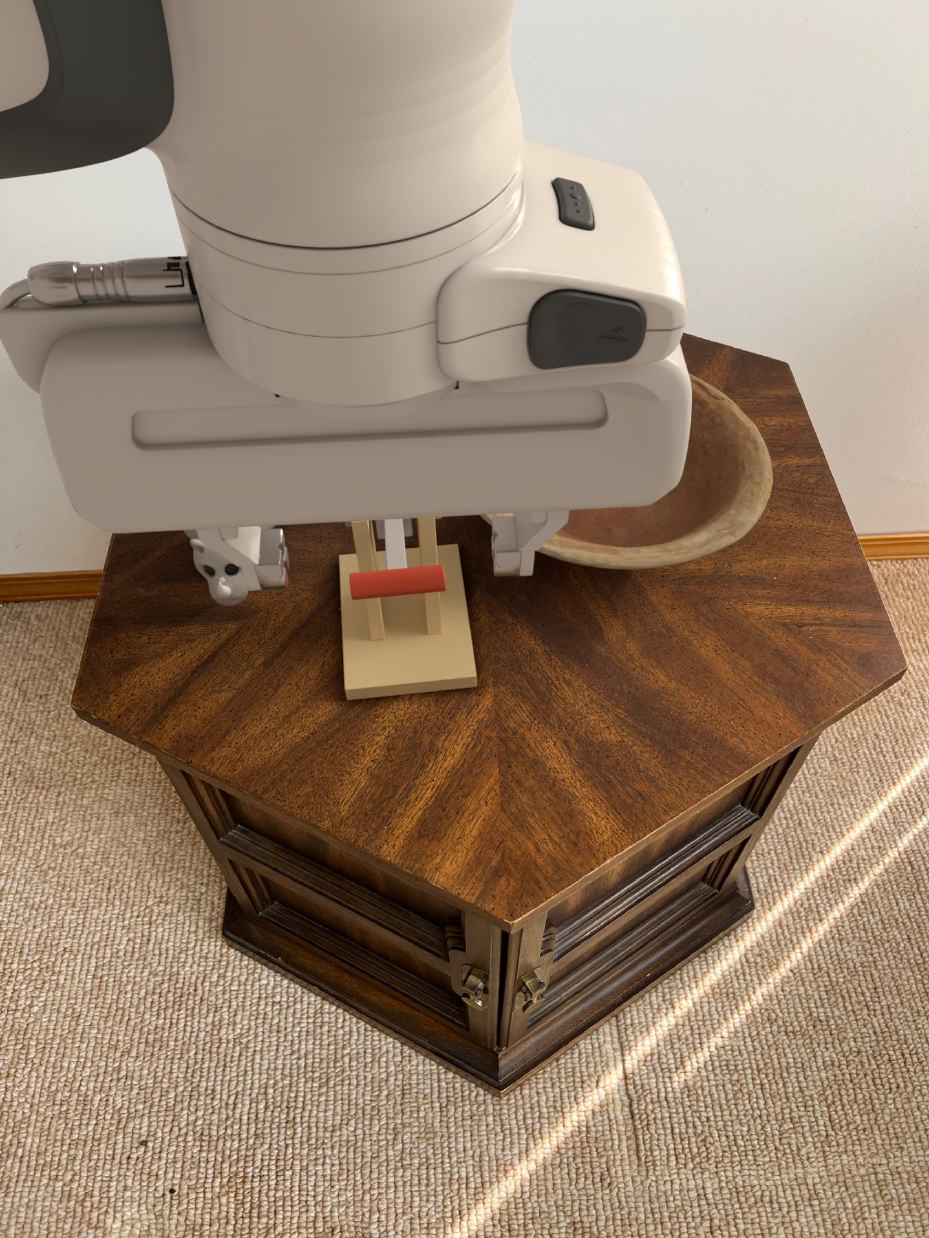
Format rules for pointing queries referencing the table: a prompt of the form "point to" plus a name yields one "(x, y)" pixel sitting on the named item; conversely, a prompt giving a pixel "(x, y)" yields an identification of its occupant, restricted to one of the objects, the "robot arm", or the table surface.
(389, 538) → the lever
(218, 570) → the chubby cartoon animal
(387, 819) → the table surface
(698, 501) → the bowl
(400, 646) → the wooden lever stand
